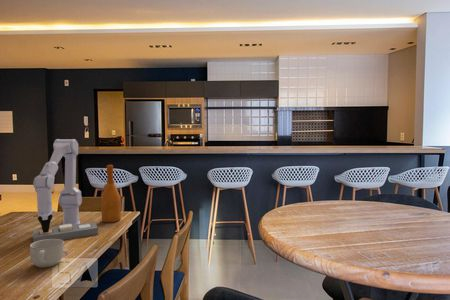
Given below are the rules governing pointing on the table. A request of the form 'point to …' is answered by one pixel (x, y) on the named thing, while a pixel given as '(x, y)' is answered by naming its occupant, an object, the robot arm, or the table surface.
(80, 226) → the pale blue key
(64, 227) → the off-white key
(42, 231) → the terracotta key
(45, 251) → the teacup
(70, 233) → the key console
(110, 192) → the wine bottle
